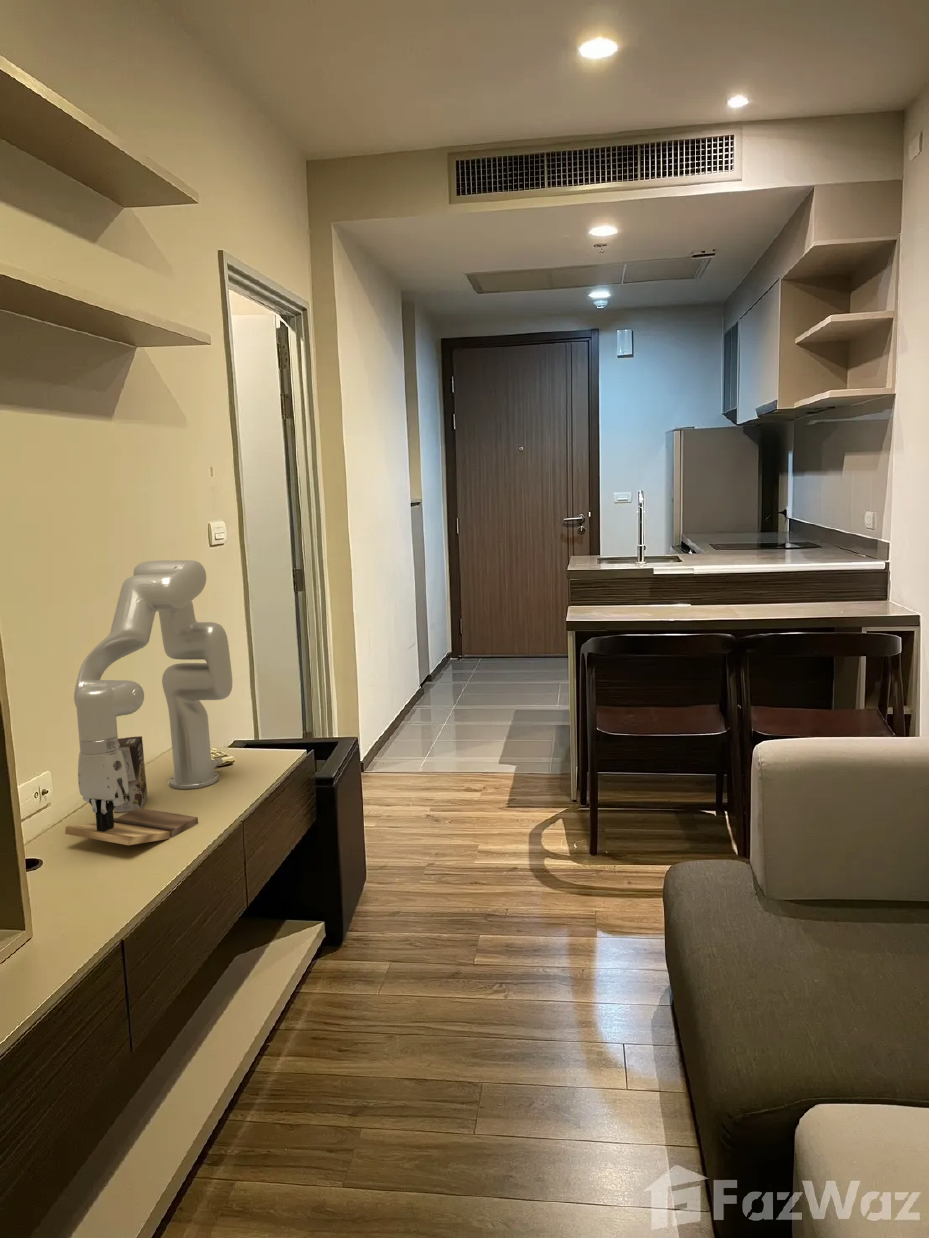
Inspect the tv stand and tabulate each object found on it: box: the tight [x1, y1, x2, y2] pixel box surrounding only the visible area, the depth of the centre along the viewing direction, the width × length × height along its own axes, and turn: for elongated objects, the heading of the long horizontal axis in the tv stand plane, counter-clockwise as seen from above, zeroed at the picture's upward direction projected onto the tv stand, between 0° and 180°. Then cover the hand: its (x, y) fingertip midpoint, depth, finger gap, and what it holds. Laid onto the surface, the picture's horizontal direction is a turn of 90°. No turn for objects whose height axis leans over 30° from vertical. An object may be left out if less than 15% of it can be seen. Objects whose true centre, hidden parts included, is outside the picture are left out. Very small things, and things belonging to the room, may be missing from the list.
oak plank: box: [64, 822, 170, 846], centre depth 190 cm, size 12×18×2 cm, turn 66°
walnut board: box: [113, 807, 199, 838], centre depth 200 cm, size 8×18×2 cm, turn 66°
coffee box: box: [113, 736, 148, 813], centre depth 212 cm, size 9×6×16 cm
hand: (105, 829), depth 187 cm, fingers closed
